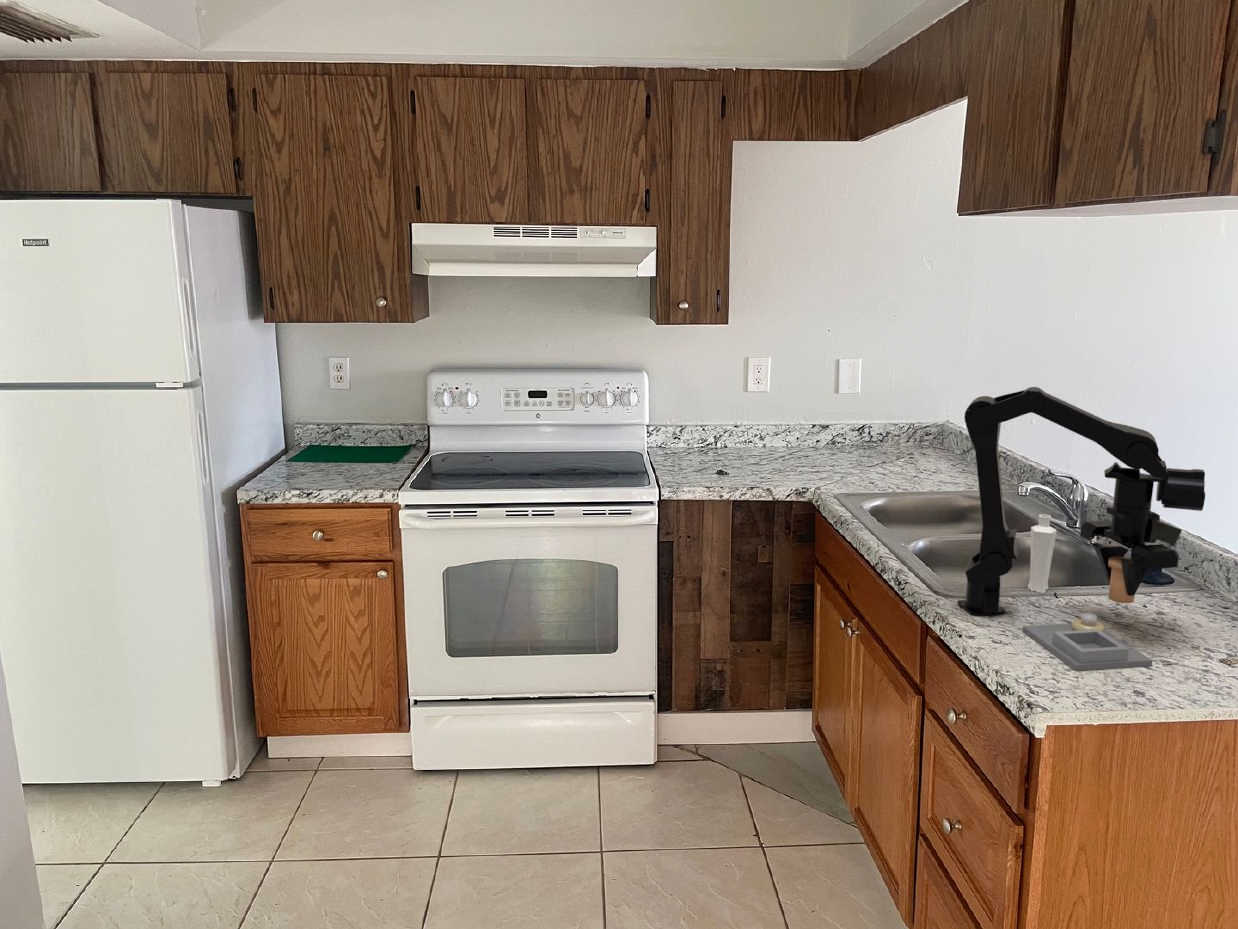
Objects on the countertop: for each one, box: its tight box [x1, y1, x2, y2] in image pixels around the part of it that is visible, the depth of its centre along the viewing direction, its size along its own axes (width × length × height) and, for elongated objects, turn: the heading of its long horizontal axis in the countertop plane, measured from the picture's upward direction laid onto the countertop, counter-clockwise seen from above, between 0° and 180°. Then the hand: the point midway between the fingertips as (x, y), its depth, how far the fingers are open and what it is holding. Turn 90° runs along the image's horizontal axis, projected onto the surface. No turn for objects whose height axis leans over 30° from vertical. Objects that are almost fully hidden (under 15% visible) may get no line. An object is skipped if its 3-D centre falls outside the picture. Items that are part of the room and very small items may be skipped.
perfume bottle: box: [1027, 513, 1057, 594], centre depth 186 cm, size 5×4×15 cm
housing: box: [1022, 612, 1153, 672], centre depth 160 cm, size 16×13×4 cm
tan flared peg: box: [1107, 555, 1136, 604], centre depth 166 cm, size 5×5×7 cm
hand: (1122, 590), depth 167 cm, fingers closed on tan flared peg, 4 cm apart
